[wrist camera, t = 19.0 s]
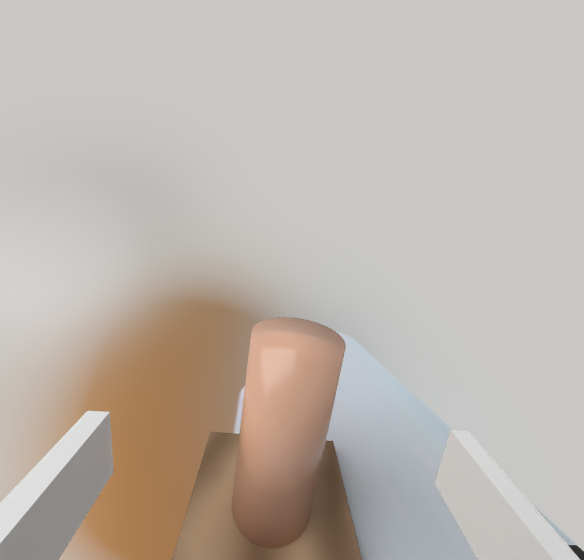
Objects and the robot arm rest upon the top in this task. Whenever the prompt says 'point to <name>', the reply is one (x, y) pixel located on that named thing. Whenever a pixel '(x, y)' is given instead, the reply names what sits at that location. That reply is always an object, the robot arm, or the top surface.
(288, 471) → the terracotta canister
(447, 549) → the top surface
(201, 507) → the cutting board
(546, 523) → the robot arm
